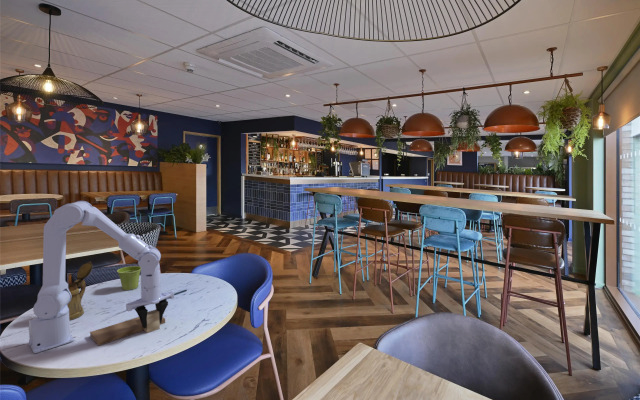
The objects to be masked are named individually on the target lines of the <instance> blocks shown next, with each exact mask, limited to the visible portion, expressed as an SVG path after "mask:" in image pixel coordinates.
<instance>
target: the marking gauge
mask: <svg viewBox="0 0 640 400" xmlns="http://www.w3.org/2000/svg"><path fill="white" fill-rule="evenodd" d="M160 327H161V324H160V321H159V311H158V310H156V309H152V310H150V311H149V310H148V312H147V328H144V330H143V331H144V332H146V334H148V333H151V332H154V331H157V330H159V329H160Z"/></svg>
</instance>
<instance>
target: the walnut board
mask: <svg viewBox="0 0 640 400" xmlns="http://www.w3.org/2000/svg"><path fill="white" fill-rule="evenodd" d="M165 323H166V318H165V317H164V316H163V317H162V321H161V323H160V325H163V324H165ZM143 331H144V328H143V327H142V323H141V320H140V318H139V316H137V317H134V318H131V319H128V320H125V321H122V322H118V323H114V324H112V325H108V326H104V327H101V328H99V329H95V330H93V331H90V332H89V333H90V338H91V340H93V341H94V343H95V344H96V345H97V346H102V345H105V344H107V343H110V342H113V341H116V340H119V339H123V338H126V337H128V336H131V335H133V334H137V333H140V332H143Z"/></svg>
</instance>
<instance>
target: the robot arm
mask: <svg viewBox="0 0 640 400" xmlns="http://www.w3.org/2000/svg"><path fill="white" fill-rule="evenodd" d="M80 223H81V226H89V227H96V228H97V229H99V230H101V231H102V232H103V233H105V234H107V235H108V236H110V237H111V238H112V239H113V240H115V241H117V242H118V248H119V249H121V250H122V251H123V252H125V253H126V254H128V255H129V256H130V257H131V258H132V259H134V260H136V261H138V262H137V264H138V265H139V267H141V271H140V293H141V294H140V298H138V299H135V300H133V301H131V302H128V303H125V310H126V311H127V312H131V311H133V310H135V312H136V314H137V315H138V316H137V317H139V318H140V320H141V323H142V327H143V328H147V312H149V310H148V309H147V307H146V306H149V305H155V310H158V311H159V321H160V323H161V321H162V317H164V314H165V312H166V309H167V307H168V306H169V301H167V300H173V299H175V295H174V293H175V292H173V291H167V292H162V291H161V267H160V261H161V257H162V254H161V252H160V250H159V249H158V248H157V247H153V245H151V244H150V245H149V244H148V243H146V242H145V241H143V240H142V238H141V235H139V234H135V233H126V232H125V231H124V230H123V229H122V228H120V227H119V225H117V224H116V223H115V222H113V221H112V219H110V218H108V216H106V215H105V214H104V213H103V212H102V211H100V210H99V209H98V208H97V207H95V206H92V204H91V203H89V202H88V201H85V200H77V201H75V202H71V203H66V204H64V205H62V206H60V207H58V208H56V209H55V210H54V212H53V214H52V215H51V217H50V218H49V219H48V220H47V222H46V223H45V224H44V225H43V243H42V244H43V246H42V247H43V248H42V251H43V255H42V260H43V261H42V286H41V288H40V289H39V292H38V294H37V300H36V302H35V303H34V305H33V308H32V310H33V314H34V315H35V316H36V317H35V318H32V319H30V320H28V335H29V336H28V337H29V339H28V343H29V347H30V348H31V350H32V353H33V354H37V353H41V352H44V351H47V350H50V349H53V348H56V347H60V346H63V345H66V344H69V343H73V342H75V338H74V336H72V334H71V328H70V327H71V326H70V324H71V323H70V321H71V320H69V308H68V306H67V304H68V303H69V302H70V301H71V298H72V296H71V293H70V291H69V289H68V284H69V283H68V282H67V281H66V259H67V257H66V256H67V232H68V231H69V230H70V229H73V227H75V226H76V225H77V224H80Z"/></svg>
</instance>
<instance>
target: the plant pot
mask: <svg viewBox="0 0 640 400" xmlns="http://www.w3.org/2000/svg"><path fill="white" fill-rule="evenodd" d="M116 272H117V274H118V276H119V279H120V284H121V289H122V290H123V291H130V290H135V289H137V288H139V281H140V275H141V267H140V266H138V265H136V266H135V265H133V266H125V267H121V268H118V269H117V270H116Z"/></svg>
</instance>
